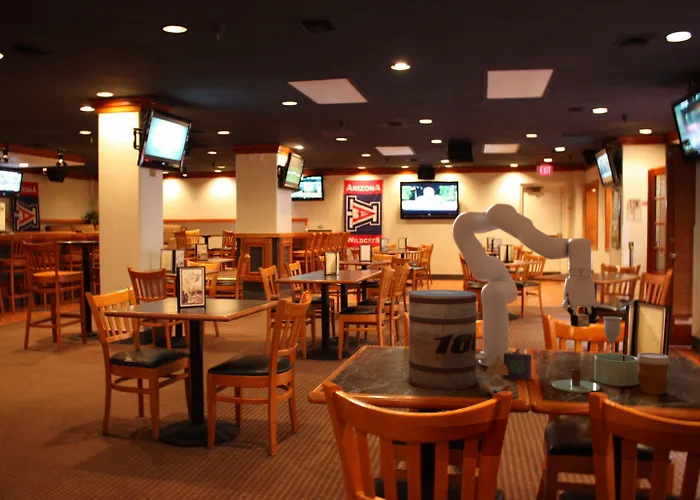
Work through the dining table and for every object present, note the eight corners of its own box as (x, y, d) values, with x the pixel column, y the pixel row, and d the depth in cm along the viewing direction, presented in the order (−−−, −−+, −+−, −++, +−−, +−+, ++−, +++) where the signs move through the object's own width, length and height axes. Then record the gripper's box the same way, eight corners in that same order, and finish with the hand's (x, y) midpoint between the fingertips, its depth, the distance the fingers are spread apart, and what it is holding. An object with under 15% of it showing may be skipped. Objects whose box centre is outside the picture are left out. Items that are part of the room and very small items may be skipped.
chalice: (623, 367, 237) (623, 319, 236) (603, 366, 238) (604, 318, 238) (619, 363, 244) (619, 316, 243) (600, 362, 245) (600, 316, 245)
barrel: (471, 391, 202) (472, 297, 201) (402, 386, 209) (402, 295, 208) (479, 376, 223) (479, 290, 222) (416, 371, 230) (416, 288, 229)
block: (578, 327, 220) (578, 315, 220) (571, 325, 224) (571, 314, 224) (588, 326, 221) (588, 315, 221) (581, 325, 225) (581, 313, 225)
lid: (568, 396, 197) (568, 376, 197) (543, 384, 211) (543, 366, 211) (610, 393, 200) (610, 373, 200) (582, 382, 215) (582, 363, 214)
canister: (611, 388, 206) (611, 362, 205) (586, 379, 219) (586, 354, 219) (647, 386, 209) (647, 360, 209) (620, 376, 222) (620, 352, 222)
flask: (531, 379, 218) (531, 348, 218) (531, 381, 216) (531, 349, 215) (503, 377, 221) (503, 347, 221) (503, 379, 218) (503, 348, 218)
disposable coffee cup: (630, 389, 204) (630, 352, 204) (658, 389, 205) (659, 352, 205) (646, 397, 195) (646, 358, 194) (676, 397, 196) (676, 358, 195)
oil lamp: (511, 386, 208) (511, 356, 208) (510, 404, 187) (510, 370, 187) (484, 385, 210) (484, 355, 210) (480, 402, 190) (480, 369, 189)
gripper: (594, 272, 228) (594, 323, 229) (552, 273, 224) (553, 325, 224) (607, 273, 221) (608, 326, 221) (564, 275, 217) (565, 328, 217)
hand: (580, 325), depth 223 cm, fingers closed on block, 4 cm apart
